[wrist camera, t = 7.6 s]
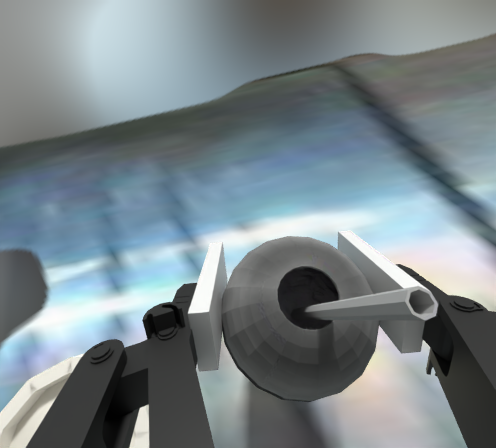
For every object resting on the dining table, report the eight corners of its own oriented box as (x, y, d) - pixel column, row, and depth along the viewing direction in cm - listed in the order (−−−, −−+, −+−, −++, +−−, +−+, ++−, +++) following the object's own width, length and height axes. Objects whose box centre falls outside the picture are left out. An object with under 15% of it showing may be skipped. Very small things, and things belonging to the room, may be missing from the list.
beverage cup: (278, 271, 24) (331, 68, 6) (335, 330, 21) (700, 264, 4) (222, 322, 22) (72, 234, 4) (277, 394, 20) (457, 910, 2)
